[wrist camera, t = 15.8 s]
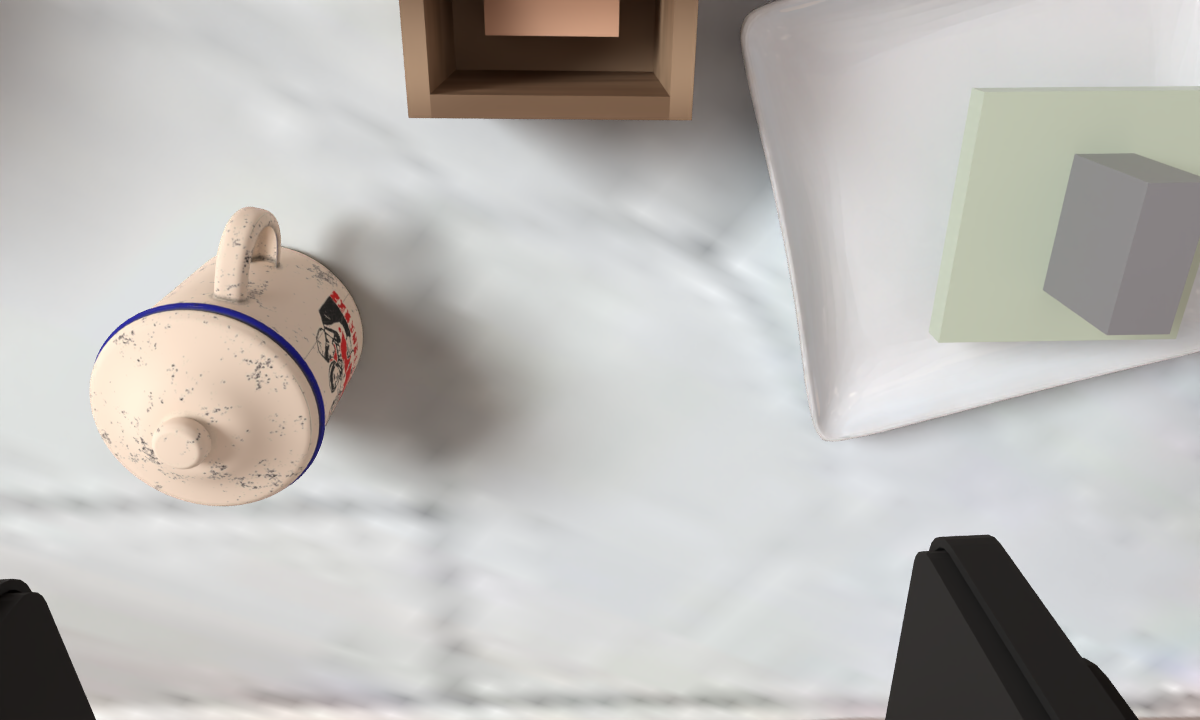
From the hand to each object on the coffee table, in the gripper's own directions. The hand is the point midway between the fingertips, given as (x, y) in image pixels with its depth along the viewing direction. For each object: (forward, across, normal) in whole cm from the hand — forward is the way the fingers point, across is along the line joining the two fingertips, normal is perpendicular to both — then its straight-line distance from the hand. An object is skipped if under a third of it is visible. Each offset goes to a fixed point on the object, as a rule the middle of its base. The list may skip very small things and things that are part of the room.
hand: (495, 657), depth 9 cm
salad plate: (+32, -21, +4) cm, 38 cm away
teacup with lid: (+32, +13, +8) cm, 36 cm away
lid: (+29, -23, +5) cm, 37 cm away
